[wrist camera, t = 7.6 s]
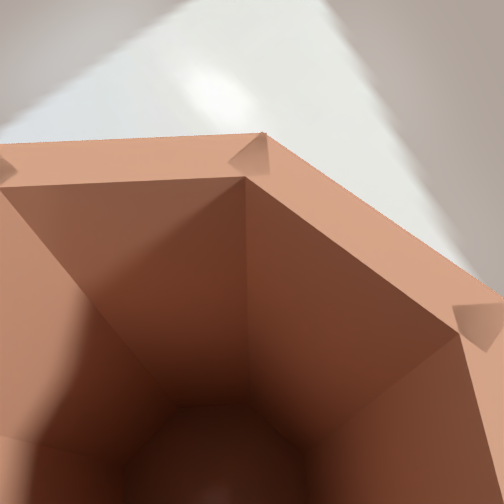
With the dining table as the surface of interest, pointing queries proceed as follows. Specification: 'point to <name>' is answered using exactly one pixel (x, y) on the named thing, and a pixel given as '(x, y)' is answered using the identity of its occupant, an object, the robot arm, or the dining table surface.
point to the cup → (232, 335)
